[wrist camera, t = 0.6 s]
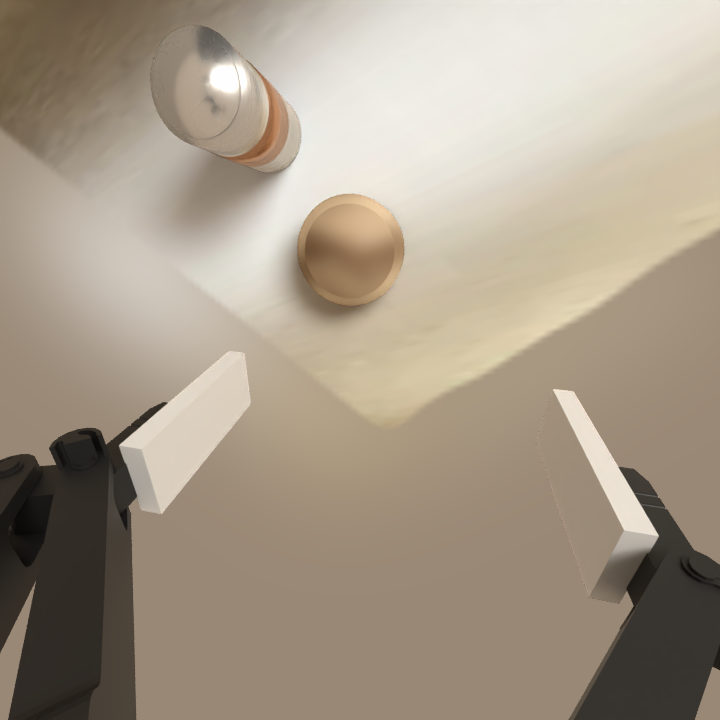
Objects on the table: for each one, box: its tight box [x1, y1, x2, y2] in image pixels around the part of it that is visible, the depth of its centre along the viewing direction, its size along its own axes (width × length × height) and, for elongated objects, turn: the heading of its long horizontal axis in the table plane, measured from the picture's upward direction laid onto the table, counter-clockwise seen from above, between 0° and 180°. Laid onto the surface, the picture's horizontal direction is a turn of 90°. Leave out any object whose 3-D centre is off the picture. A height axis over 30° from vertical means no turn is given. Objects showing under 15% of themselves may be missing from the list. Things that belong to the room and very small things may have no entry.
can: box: [150, 25, 301, 173], centre depth 30 cm, size 7×7×12 cm
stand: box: [297, 194, 404, 306], centre depth 36 cm, size 10×10×3 cm
